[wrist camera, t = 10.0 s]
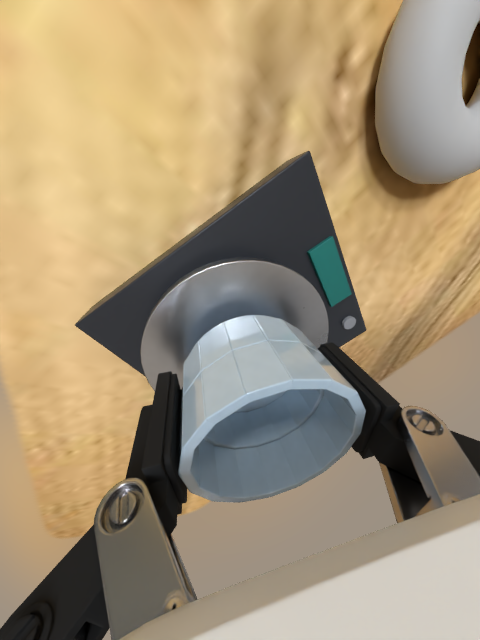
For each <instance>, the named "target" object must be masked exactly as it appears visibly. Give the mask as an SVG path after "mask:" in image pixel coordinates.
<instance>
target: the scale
mask: <svg viewBox="0 0 480 640" xmlns="http://www.w3.org/2000/svg"><path fill="white" fill-rule="evenodd" d="M235 257H254V258H262V259H267V260H270V261H274V262H277V263H279V264H282V265H284V266H286V267H288V268H290V269H292V270H293V271H295V272H296V273H298V274H300V275H301V276H303V277H304V278H305V279H306V280H307V281H308V282H309V283H311V284H312V285H313V287H314V288H315V289H316V291H317V292H318V293H319V295H320V297H321V299H322V301H323V303H324V305H325V308H326V311H327V317H328V339H327V343H331V342H332V343H334V344H335V345H336V346H337V347H341V346H342V345H344V344H345V343H347V342H348V341H350V340H352V339H353V338H355V337H356V336H358V335H360V334H361V333H363V332H364V331H366V327H365V324H364V321H363V318H362V314H361V311H360V308H359V305H358V302H357V299H356V296H355V292H354V289H353V286H352V283H351V280H350V277H349V273H348V270H347V267H346V264H345V261H344V258H343V255H342V251H341V248H340V245H339V242H338V239H337V236H336V233H335V229H334V226H333V223H332V220H331V217H330V214H329V210H328V207H327V204H326V201H325V198H324V195H323V192H322V188H321V185H320V182H319V179H318V176H317V173H316V169H315V166H314V163H313V160H312V157H311V154H310V151H307V152H305V153H303V154H301V155H299V156H296V157H294V158H292V159H290V160H288V161H286V162H285V163H284V164H282V165H281V166H280V167H278V168H277V169H276V170H274V171H273V172H272V173H270V174H269V175H268V176H266V177H265V178H264V179H262V180H261V181H260V182H258V183H257V184H256V185H254V186H253V187H252V188H250V189H249V190H248V191H246V192H245V193H244V194H242V195H241V196H240V197H238V198H237V199H236V200H234V201H233V202H232V203H230V204H229V205H228V206H226V207H225V208H224V209H222V210H221V211H220V212H218V213H217V214H216V215H214V216H213V217H212V218H210V219H209V220H207V221H206V222H205V223H203V224H202V225H201V226H199V227H198V228H197V229H195V230H194V231H193V232H191V233H190V234H189V235H187V236H186V237H185V238H183V239H182V240H181V241H179V242H178V243H177V244H175V245H174V246H173V247H171V248H170V249H169V250H167V251H166V252H165V253H163V254H162V255H161V256H159V257H158V258H157V259H155V260H154V261H153V262H151V263H150V264H149V265H147V266H146V267H145V268H143V269H142V270H141V271H139V272H138V273H137V274H135V275H134V276H133V277H131V278H130V279H129V280H127V281H126V282H125V283H123V284H122V285H120V286H119V287H118V288H116V289H115V290H114V291H112V292H111V293H110V294H108V295H107V296H106V297H104V298H103V299H102V300H100V301H99V302H98V303H96V304H95V305H94V306H92V307H91V308H90V310H89V311H88V312H87V313H86V314H85V315H84V316H83V317H82V318H81V319H80V320H79V321H78V322H77V323H76V324H75V326H76V327H78V328H79V329H80V330H82V331H83V332H85V333H86V334H87V335H89V336H90V337H92V338H93V339H94V340H96V341H97V342H99V343H100V344H101V345H103V346H104V347H105V348H107V349H108V350H110V351H111V352H112V353H114V354H115V355H117V356H118V357H119V358H121V359H122V360H123V361H125V362H126V363H128V364H129V365H130V366H132V367H133V368H135V369H136V370H137V371H139V372H140V373H141V374H143V375H144V376H145V373H144V370H143V366H142V362H141V341H142V336H143V333H144V329H145V326H146V323H147V320H148V318H149V316H150V314H151V312H152V309H153V308H154V306H155V305H156V303H157V302H158V300H159V299H160V297H161V296H162V295H163V294H164V293H165V292H166V291H167V290H168V288H169V287H171V286H172V285H173V284H174V283H175V282H176V281H178V280H179V279H180V278H182V277H183V276H185V275H186V274H188V273H190V272H191V271H193V270H195V269H197V268H199V267H201V266H204V265H206V264H209V263H212V262H215V261H219V260H222V259H229V258H235Z"/></svg>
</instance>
